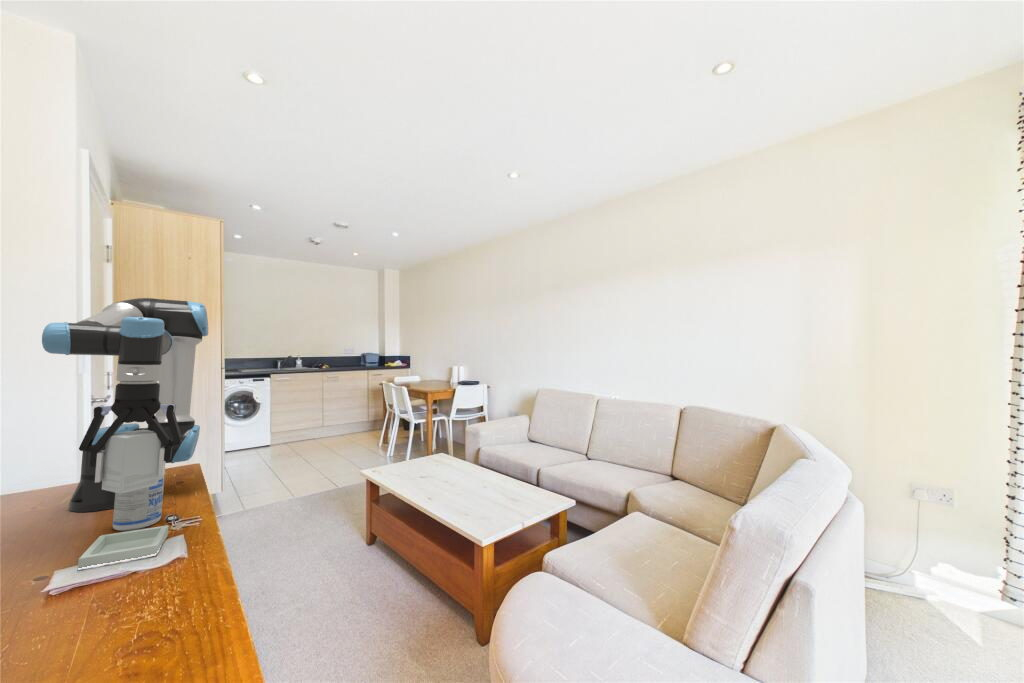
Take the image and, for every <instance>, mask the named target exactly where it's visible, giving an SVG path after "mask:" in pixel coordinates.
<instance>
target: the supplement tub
mask: <svg viewBox="0 0 1024 683" xmlns="http://www.w3.org/2000/svg"><path fill="white" fill-rule="evenodd" d="M165 473H166V472H165ZM165 473H164V474H163V476H159V480H158V485H155V486H151V487H147V488H143V489H139V490H135V491H130V492H126V493H122V494H119V493H115V503H114V508H113V516H112V528H113V529H114V530H116V531H120V532H127V531H133V530H140V529H145V528H146V527H147V528H148V527H150V526H152V525H154V524H157V523H158V522H159V521H160V520H161V519H162V512H163V511H162V510H163V501H164V500H163V499H164V487H165V475H166V474H165Z"/></svg>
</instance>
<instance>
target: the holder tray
mask: <svg viewBox="0 0 1024 683" xmlns="http://www.w3.org/2000/svg"><path fill="white" fill-rule="evenodd" d="M169 526H170V525H169V524H168V525H161V526H160V525H159V526H156V527H154V526H153V527H147V528H140V529H135V530H127V531H120V532H116V533H115V532H114V533H109V534H102V535H100V536H98V538H97V539H96V540H94V542H93V543H92V544H91V545H90V546H89V547H88V548H87V549H86V551H84V553H83V554H82V555H81V556H80V557H79V558H78V563H77V569H78V568H82V567H87V566H91V565H97V564H103V563H110V562H115V561H120V560H125V559H131V558H138V557H142V556H147V555H151V554H155V553H157V551H158V550H159V548H160V546H161V545H162V543H163V542H164V541H165V542H166V540H167V538H168V537H169V528H170V527H169ZM165 542H164V543H165ZM164 543H163V544H164ZM162 546H163V545H162Z"/></svg>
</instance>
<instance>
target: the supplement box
mask: <svg viewBox="0 0 1024 683" xmlns="http://www.w3.org/2000/svg"><path fill="white" fill-rule="evenodd" d="M160 448H161V441H160V440H159V438H158V437H157V434H156V433H154V431H149V430H136V431H129V432H122V433H115V434H113V435H111V436H110V437H109V439H108V440H107V442H106V443H105V453H104V467H103V478H102V490H107V491H111V492H115V493H119V494H122V493H126V492H130V491H135V490H139V489H143V488H147V487H151V486H155V485H158V480H159V476H158V469H159V456H160Z"/></svg>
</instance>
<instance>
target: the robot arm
mask: <svg viewBox="0 0 1024 683" xmlns="http://www.w3.org/2000/svg"><path fill="white" fill-rule="evenodd" d="M208 319H209V318H208V313H207V309H206V306H205V305H204V304H203V303H200V302H195V301H189V300H175V299H164V298H163V299H162V298H152V297H142V298H140V297H139V298H137V297H136V298H131V299H126V300H121V301H116V302H114V303H111V304H109V305H107V306H105V307H104V308H103V309H102V310H101V312H99V313H96V314H94V315H92V316H89V317H86V318H85V319H84V318H83V319H82V320H79V321H76V322H73V323H72V322H66V321H65V322H50V323H48V324H47V325H45V327H44V329H43V332H42V334H41V344H42V347H43V349H44V351H45V352H47V353H48V354H53V355H55V354H56V355H65V356H70V355H73V356H79V355H80V356H82V355H83V356H118V359H117V360H118V361H117V368H116V378H115V379H116V381H117V382H119V383H117V384H116V385H115V394H114V401H113V403H112V405H99V406H95V407H94V408H93V418H92V420H91V421H90V422H91V423H90V424H89V426H88V428H87V431H86V433H85V435H84V436H83V439H82V441H81V443H80V445H79V447H78V451H80V452H82V457H81V468H80V480H79V482H78V484H77V486H76V488H75V490H74V492H73V494H72V496H71V498H70V499H69V502H68V511H70V512H75V513H76V512H77V513H86V512H88V513H89V512H97V511H104V510H109V509H114V503H115V492H111V491H107V490H102V478H103V467H104V453H105V443H106V442H107V440H108V439H109V437H110V436H111V435H113V434H115V433H122V432H129V431H136V430H149V431H154V433H156V434H157V437H158V438H159V440H160V441H161V448H160V456H159V469H158V476H163V474H164V473H166V464H175V463H180V462H186V461H189V460H190V459H192V457H193V455H194V453H195V451H196V448H197V445H198V441H199V436H200V431H201V426H200V425H198V424H196V420H195V419H194V418H193V417H192V416H191V415H190V414H191V406H192V405H191V404H192V403H191V402H192V393H193V385H194V384H193V382H194V372H195V359H196V350H197V348H196V347H197V345H198V344H200V343H202V342H203V337H207V336H208V335H209V322H208ZM110 412H112V413H114V415H115V416H116V419H115V420H114V421H113V422H112V424H111V425H110V426H106V427H101V426H102V423H103V422H104V420H105V417H106V416H107V415H108V414H109V413H110ZM145 422H146V424H147V427H140V424H138V423H145Z"/></svg>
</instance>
